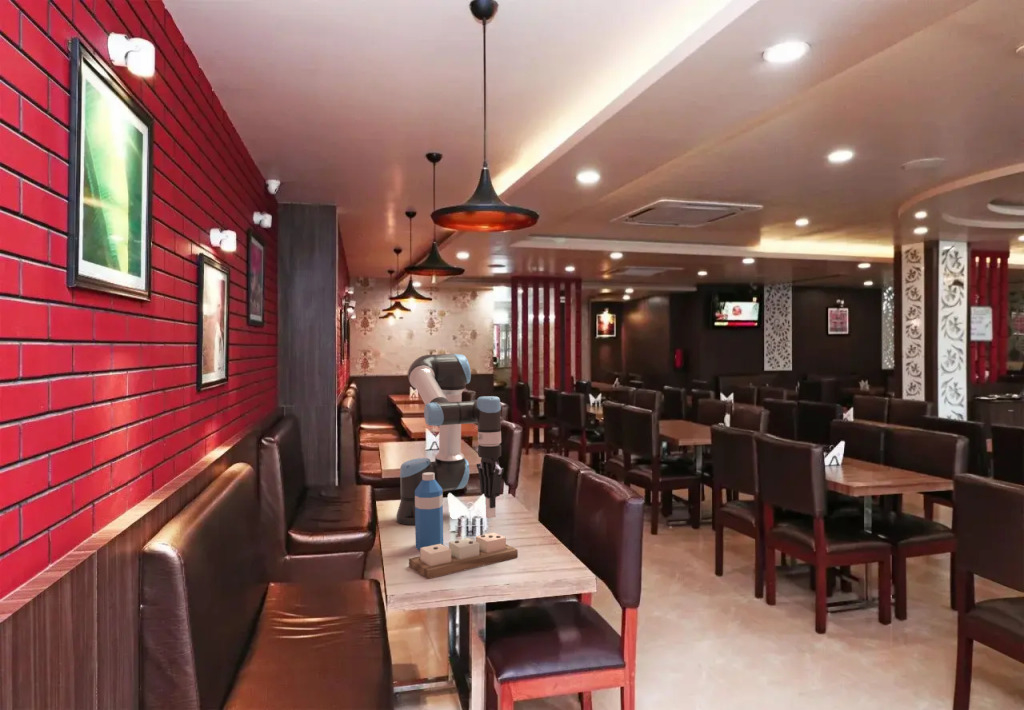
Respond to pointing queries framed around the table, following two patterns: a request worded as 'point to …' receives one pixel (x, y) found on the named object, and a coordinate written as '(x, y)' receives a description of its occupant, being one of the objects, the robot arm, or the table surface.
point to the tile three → (491, 542)
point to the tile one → (435, 555)
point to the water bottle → (428, 512)
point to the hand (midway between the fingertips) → (490, 517)
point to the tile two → (464, 548)
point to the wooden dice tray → (462, 562)
